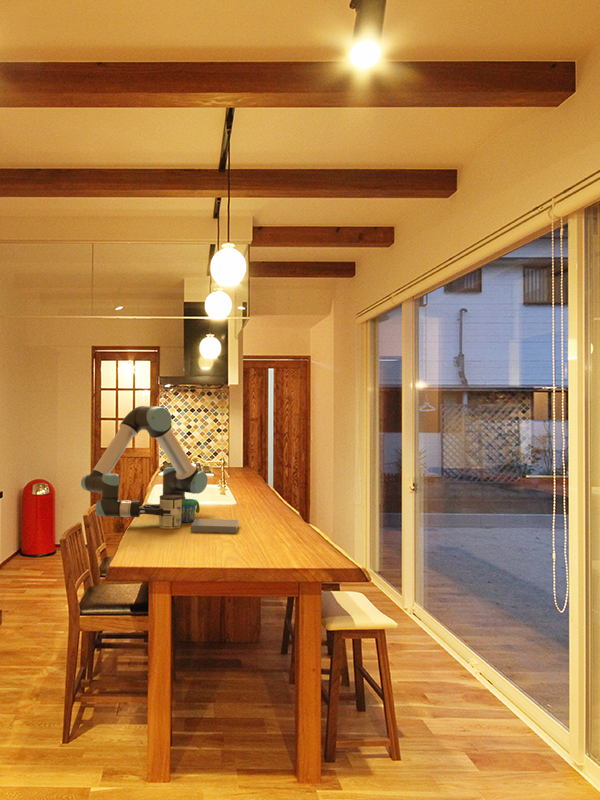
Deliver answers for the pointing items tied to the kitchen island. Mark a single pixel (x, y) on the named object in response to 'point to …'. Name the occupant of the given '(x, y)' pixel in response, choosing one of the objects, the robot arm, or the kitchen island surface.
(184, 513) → the snack cup
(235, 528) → the slate plinth
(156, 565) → the kitchen island surface
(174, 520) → the coffee can
